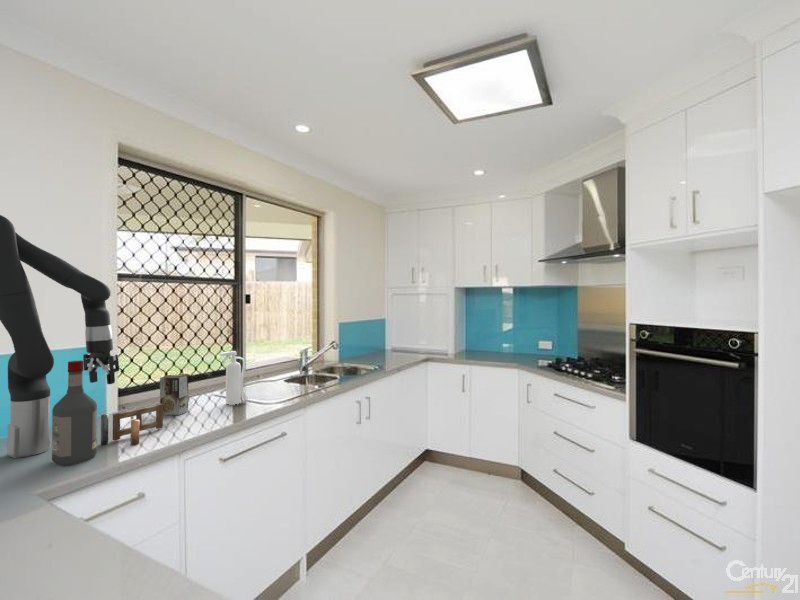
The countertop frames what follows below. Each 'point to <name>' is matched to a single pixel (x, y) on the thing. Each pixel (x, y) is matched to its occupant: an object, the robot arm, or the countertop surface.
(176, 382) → the coffee box
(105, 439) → the hinge post
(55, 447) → the liquor
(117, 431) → the gate
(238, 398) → the fire extinguisher
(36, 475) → the countertop surface
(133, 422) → the post
